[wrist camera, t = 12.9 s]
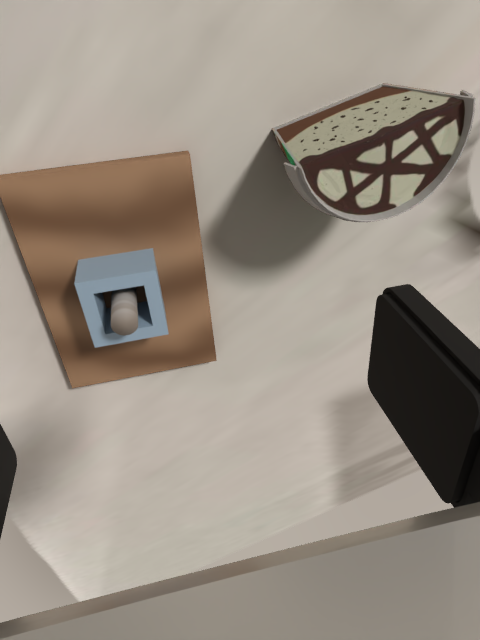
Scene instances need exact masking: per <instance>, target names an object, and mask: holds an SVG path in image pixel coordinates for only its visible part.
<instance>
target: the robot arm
mask: <svg viewBox="0 0 480 640" xmlns="http://www.w3.org/2000/svg"><path fill="white" fill-rule="evenodd" d="M368 385H369V389H370V391H371V393H372V394H373V396H374V397H375V399H376V400H377V402H378V404H379V405H380V407H381V408H382V410H383V411H384V413H385V414H386V416H387V417H388V419H389V420H390V422H391V423H392V425H393V426H394V428H395V429H396V431H397V432H398V434H399V435H400V437H401V438H402V440H403V441H404V443H405V445H406V446H407V448H408V449H409V451H410V452H411V454H412V455H413V457H414V458H415V460H416V461H417V463H418V464H419V466H420V467H421V469H422V470H423V472H424V473H425V475H426V476H427V478H428V479H429V481H430V482H431V484H432V485H433V487H434V489H435V490H436V492H437V493H438V495H439V496H440V498H441V499H442V500H443V501H444V502H445V503H451V504H452V505H453V507H454V508H451V509H447V510H442V511H438V512H434V513H429V514H425V515H421V516H417V517H413V518H409V519H405V520H401V521H397V522H393V523H389V524H385V525H381V526H377V527H373V528H369V529H365V530H361V531H357V532H352V533H348V534H345V535H340V536H337V537H332V538H328V539H325V540H320V541H316V542H313V543H308V544H305V545H301V546H296V547H293V548H288V549H285V550H281V551H277V552H273V553H269V554H265V555H261V556H257V557H253V558H249V559H245V560H241V561H237V562H233V563H229V564H225V565H222V566H217V567H214V568H210V569H206V570H202V571H198V572H194V573H190V574H186V575H182V576H178V577H174V578H170V579H166V580H163V581H159V582H155V583H151V584H147V585H143V586H139V587H136V588H132V589H128V590H124V591H120V592H116V593H112V594H109V595H105V596H101V597H97V598H93V599H89V600H85V601H82V602H78V603H74V604H70V605H66V606H63V607H59V608H55V609H51V610H47V611H43V612H39V613H36V614H32V615H28V616H24V617H20V618H17V619H13V620H9V621H6V622H2V623H0V640H480V349H479V348H478V347H477V346H476V345H475V344H474V343H473V342H472V341H470V340H469V339H468V338H467V337H466V336H465V335H464V334H463V333H462V332H461V331H460V330H459V329H458V328H457V327H456V326H454V325H453V324H452V323H451V322H450V321H449V320H448V319H447V318H446V317H445V316H444V315H443V314H442V313H441V312H440V311H439V310H437V309H436V308H435V307H434V306H433V305H432V304H431V303H430V302H429V301H428V300H427V299H426V298H425V297H424V296H423V295H421V294H420V293H419V292H418V291H417V290H416V289H415V288H414V287H413V286H411V285H410V284H406V285H401V286H395V287H390V288H386V289H385V290H384V291H383V294H382V295H379V296H378V298H377V301H376V309H375V318H374V327H373V335H372V344H371V352H370V361H369V370H368ZM16 467H17V458H16V453H15V451H14V449H13V447H12V445H11V443H10V441H9V439H8V438H7V436H6V434H5V432H4V430H3V428H2V426H1V424H0V538H1V533H2V529H3V524H4V520H5V516H6V512H7V507H8V503H9V498H10V494H11V490H12V485H13V481H14V476H15V472H16Z"/></svg>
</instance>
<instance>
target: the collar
mask: <svg viewBox="0 0 480 640" xmlns="http://www.w3.org/2000/svg"><path fill="white" fill-rule="evenodd" d="M74 284H75V287H76V291H77V294H78V297H79V300H80V303H81V306H82V309H83V312H84V316H85V319H86V322H87V325H88V328H89V331H90V334H91V338H92V341H93V344H94V347H95V348H96V347H102V346H107V345H113V344H118V343H124V342H129V341H135V340H140V339H146V338H151V337H156V336H162V335H167V334H169V333H168V327H167V320H166V313H165V307H164V302H163V297H162V292H161V287H160V282H159V277H158V272H157V267H156V262H155V256H154V251H153V248H150V249H144V250H138V251H131V252H125V253H118V254H112V255H106V256H99V257H93V258H87V259H80V260H78V265H77V271H76V276H75V282H74ZM143 285H144V288H145V292H146V297H147V301H145V302H140V303H137V310H138V328H137V330H136V331H135V332H134V333H132V334H130V335H119V334H117V333H115V332H114V331H113V330H112V328H111V308H106V304H105V301H104V297H103V294H102V292H107V291H113V290H119V289H125V288H131V287H137V286H143Z"/></svg>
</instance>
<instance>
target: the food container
mask: <svg viewBox="0 0 480 640" xmlns="http://www.w3.org/2000/svg"><path fill="white" fill-rule="evenodd" d="M474 110H475V98H473V95H472V94H470V93H468V92H466V91H464V90H462V91H461V92H460V95H457V94H450V93H444V92H437V91H431V90H424V89H418V88H411V87H405V86H398V85H392V84H385V83H383V84H380V85H378V86H375V87H373V88H370V89H368V90H365V91H363V92H361V93H358V94H356V95H353V96H351V97H348V98H346V99H343V100H341V101H339V102H336V103H334V104H331V105H329V106H326V107H324V108H321V109H319V110H317V111H314V112H312V113H309V114H307V115H304V116H302V117H299V118H297V119H294V120H292V121H290V122H287V123H285V124H282V125H280V126H277V127H275V128H272V131H273V133H274V136H275V139H276V142H277V144H278V145H279V147H280V148H281V150H282V151H283V153H284V154H285V156H286V157H287V159H288V160H289V162H290V163H291V164H289V163H286V162H285V163H283V164H284V167H285V169H286V172H287V175H288V177H289V179H290V181H291V182H292V184H293V186H294V188H295V189H296V190H297V192H298V193H299V194H300V195H301V196H302V198H303V199H304V200H306V201H307V202H308V203H309V204H310V205H312V206H313V207H314V208H316V209H318V210H320V211H321V212H323V213H326V214H328V215H331V216H334V217H337V218H340V219H342V220H347V221H353V222H371V221H379V220H385V219H388V218H391V217H394V216H397V215H400V214H402V213H404V212H406V211H408V210H410V209H412V208H413V207H415V206H416V205H418V204H419V203H421V202H422V201H424V200H425V199H426V198H427V197H428V196H430V195H431V194H432V193H433V192H434V191H435V190H436V189H437V188H438V187H439V186H440V185H441V184H442V183H443V182H444V180H445V179H446V178H447V176H448V175H449V174H450V172H451V171H452V170H453V168H454V166H455V165H456V163H457V161H458V160H459V158H460V156H461V154H462V152H463V149H464V147H465V145H466V143H467V140H468V137H469V134H470V131H471V127H472V122H473V117H474Z"/></svg>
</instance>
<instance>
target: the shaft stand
mask: <svg viewBox="0 0 480 640" xmlns="http://www.w3.org/2000/svg"><path fill="white" fill-rule="evenodd" d="M0 197H1V200H2V203H3V205H4V208H5V211H6V213H7V216H8V219H9V221H10V224H11V227H12V229H13V232H14V235H15V237H16V240H17V243H18V245H19V248H20V250H21V253H22V256H23V258H24V261H25V264H26V266H27V269H28V272H29V274H30V277H31V280H32V282H33V285H34V288H35V290H36V293H37V296H38V298H39V301H40V304H41V306H42V309H43V311H44V314H45V317H46V319H47V322H48V325H49V327H50V330H51V333H52V335H53V338H54V341H55V343H56V346H57V349H58V351H59V354H60V357H61V359H62V362H63V365H64V367H65V370H66V372H67V375H68V378H69V380H70V383H71V386H72V388H76V387H82V386H87V385H92V384H97V383H102V382H108V381H113V380H118V379H123V378H128V377H134V376H139V375H144V374H149V373H154V372H160V371H165V370H170V369H175V368H180V367H185V366H191V365H196V364H201V363H206V362H211V361H217V360H216V352H215V345H214V337H213V329H212V322H211V314H210V306H209V298H208V291H207V283H206V275H205V267H204V260H203V252H202V244H201V237H200V229H199V221H198V213H197V206H196V198H195V190H194V182H193V175H192V167H191V159H190V154H189V152H188V151H182V152H174V153H166V154H158V155H151V156H143V157H135V158H127V159H120V160H112V161H104V162H96V163H89V164H81V165H73V166H65V167H58V168H50V169H42V170H34V171H27V172H19V173H11V174H3V175H0ZM150 248H153V251H154V256H155V262H156V267H157V272H158V277H159V282H160V287H161V292H162V297H163V302H164V307H165V313H166V320H167V327H168V333H169V334H167V335H162V336H156V337H151V338H146V339H140V340H135V341H129V342H124V343H118V344H113V345H107V346H102V347H96V348H95V347H94V344H93V341H92V338H91V334H90V331H89V328H88V325H87V322H86V319H85V316H84V312H83V309H82V306H81V303H80V300H79V297H78V294H77V291H76V287H75V284H74V282H75V276H76V271H77V265H78V260H80V259H87V258H93V257H99V256H106V255H112V254H118V253H125V252H131V251H138V250H144V249H150ZM102 294H103V297H104V301H105V304H106V308H111V328H112V330H113V331H114V332H115V333H117V334H119V335H130V334H132V333H134V332H135V331H136V330H137V328H138V310H137V303H140V302H145V301H147V297H146V292H145V288H144V285H143V286H137V287H131V288H125V289H119V290H113V291H107V292H102Z"/></svg>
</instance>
